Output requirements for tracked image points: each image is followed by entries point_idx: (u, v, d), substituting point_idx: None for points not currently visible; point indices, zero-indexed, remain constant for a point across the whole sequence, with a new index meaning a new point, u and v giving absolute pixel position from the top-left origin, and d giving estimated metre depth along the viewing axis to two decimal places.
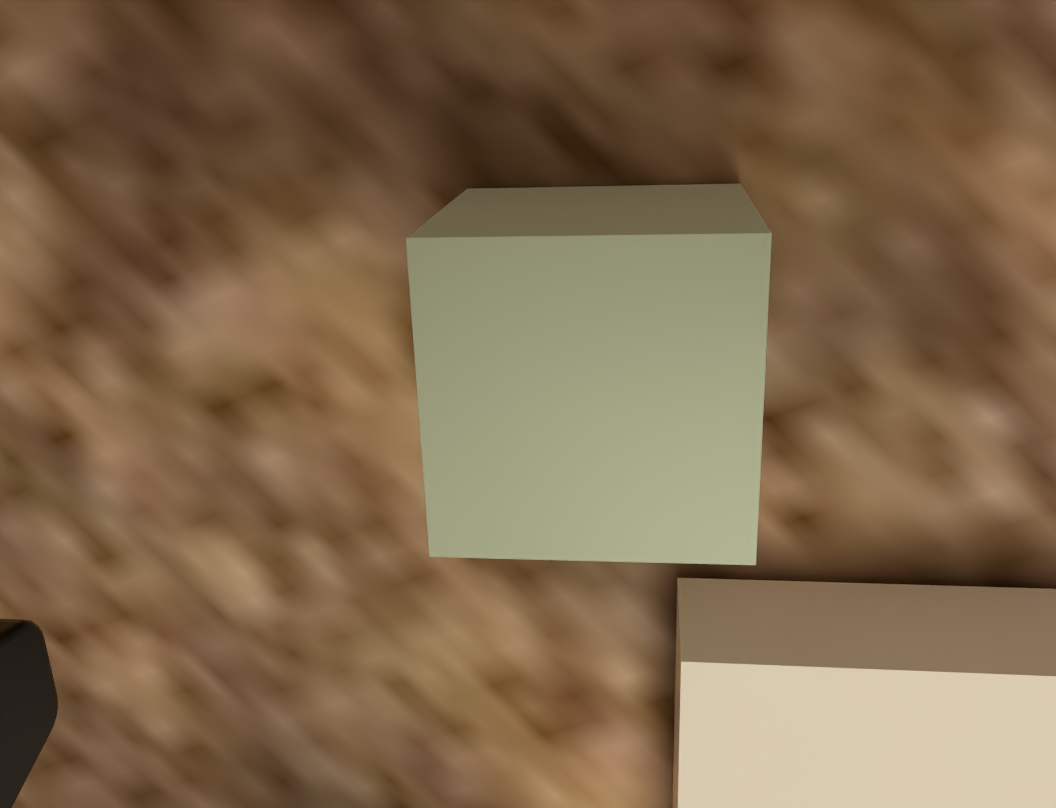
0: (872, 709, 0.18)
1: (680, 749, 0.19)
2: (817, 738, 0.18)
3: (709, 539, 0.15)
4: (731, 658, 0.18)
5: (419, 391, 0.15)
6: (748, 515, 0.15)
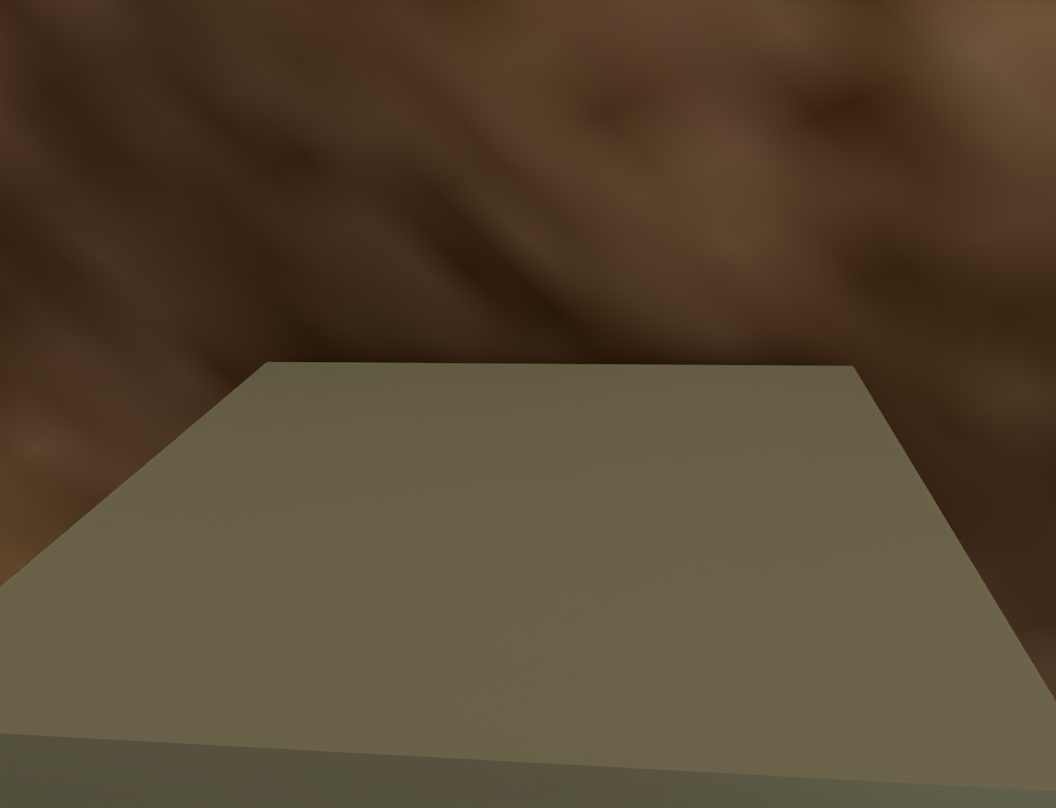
0: None
1: None
2: None
3: None
4: None
5: None
6: None
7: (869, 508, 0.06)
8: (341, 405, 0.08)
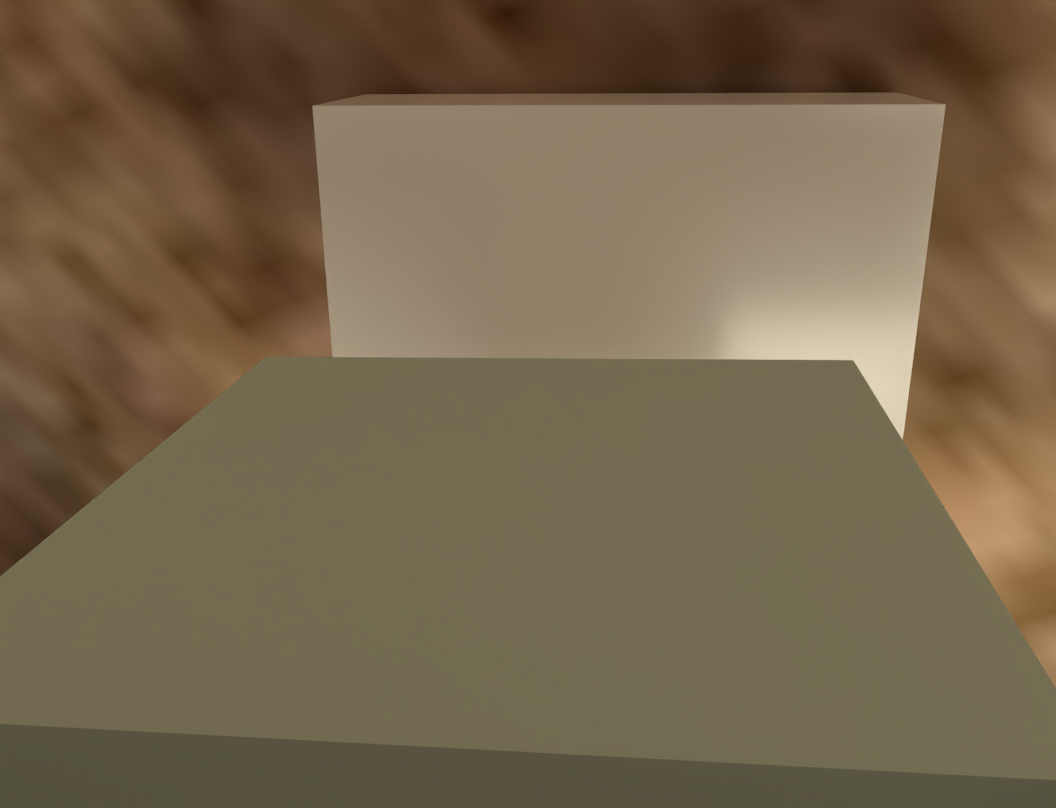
0: (540, 164, 0.15)
1: (323, 233, 0.16)
2: (480, 209, 0.15)
3: None
4: (374, 104, 0.15)
5: None
6: None
7: (869, 500, 0.06)
8: (339, 399, 0.08)
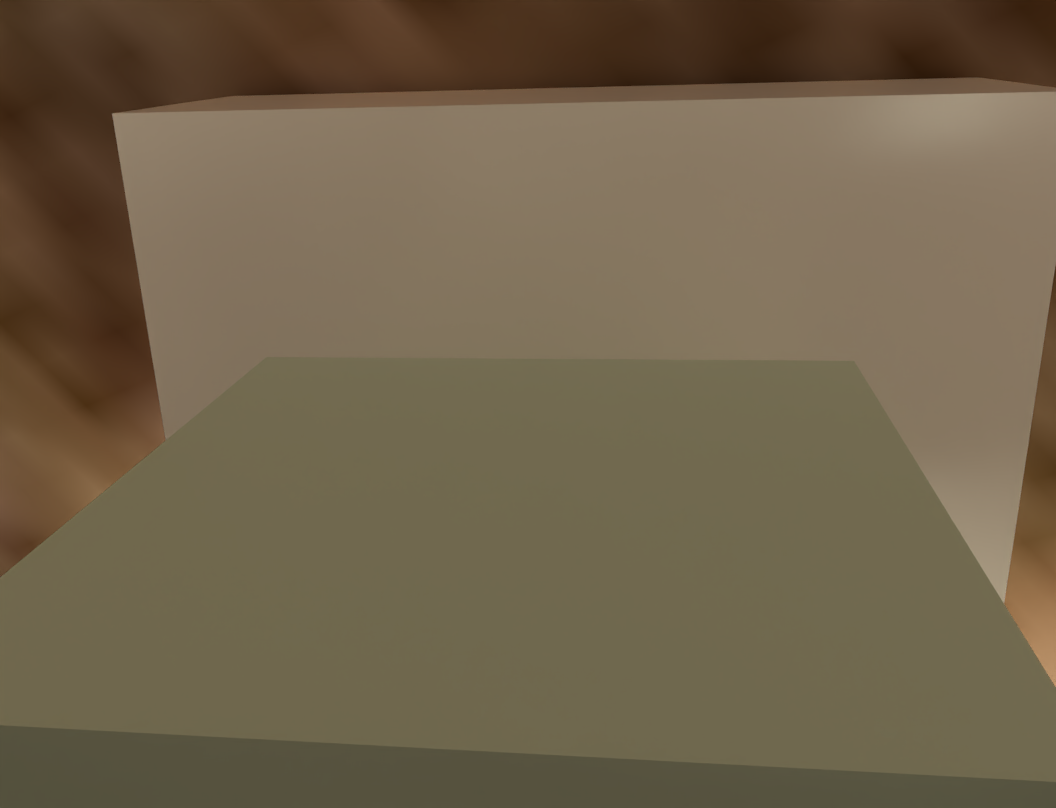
0: (455, 195, 0.10)
1: (144, 301, 0.11)
2: (369, 263, 0.10)
3: None
4: (206, 110, 0.10)
5: None
6: None
7: (870, 501, 0.06)
8: (340, 400, 0.08)
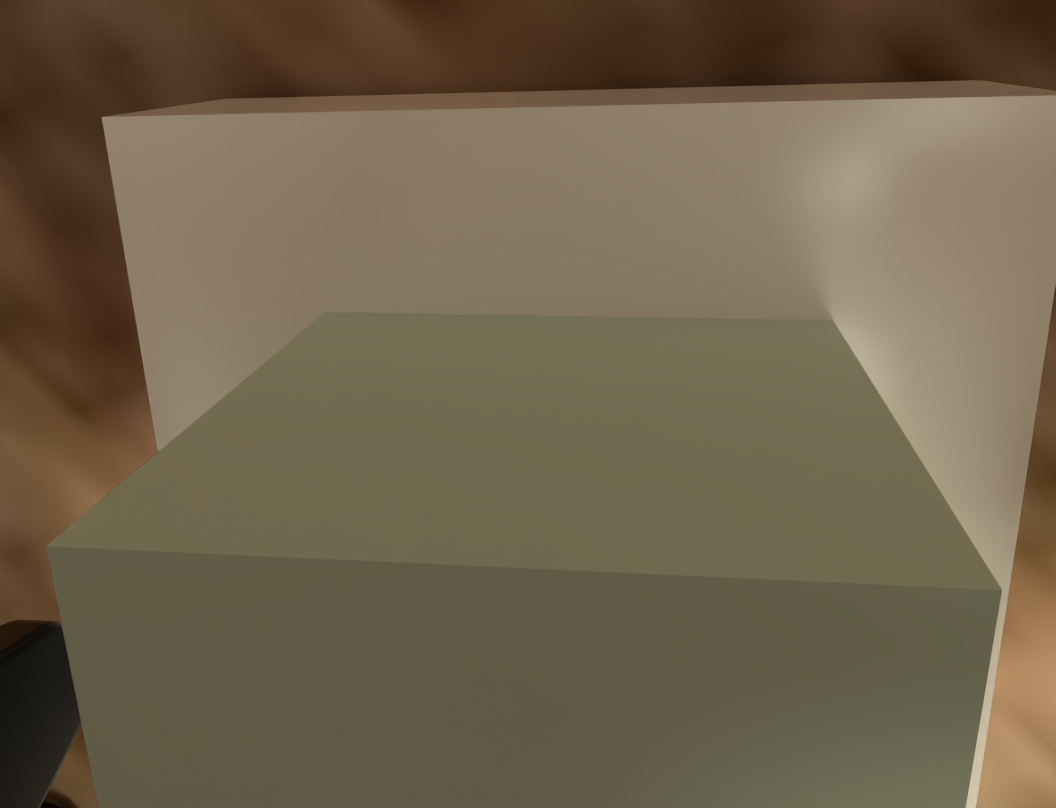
0: (449, 200, 0.10)
1: (135, 307, 0.10)
2: (363, 268, 0.10)
3: None
4: (196, 113, 0.10)
5: None
6: None
7: (839, 420, 0.07)
8: (395, 344, 0.09)
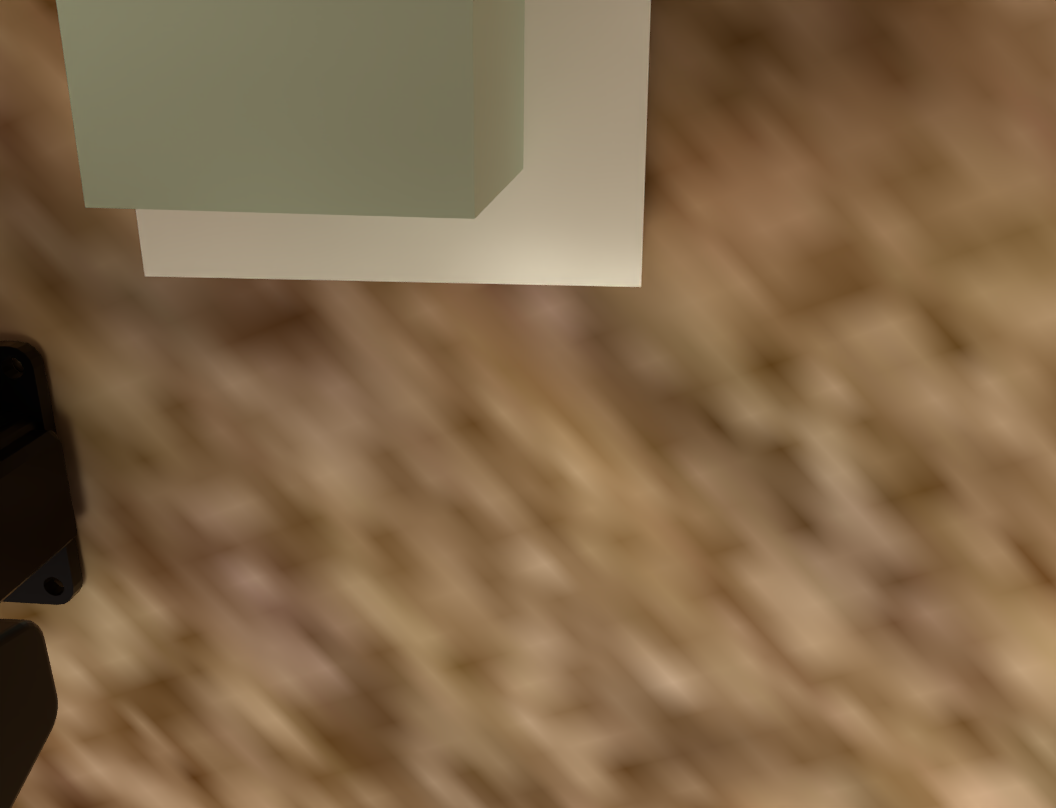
0: None
1: None
2: None
3: (417, 182, 0.12)
4: None
5: None
6: (462, 149, 0.12)
7: None
8: None
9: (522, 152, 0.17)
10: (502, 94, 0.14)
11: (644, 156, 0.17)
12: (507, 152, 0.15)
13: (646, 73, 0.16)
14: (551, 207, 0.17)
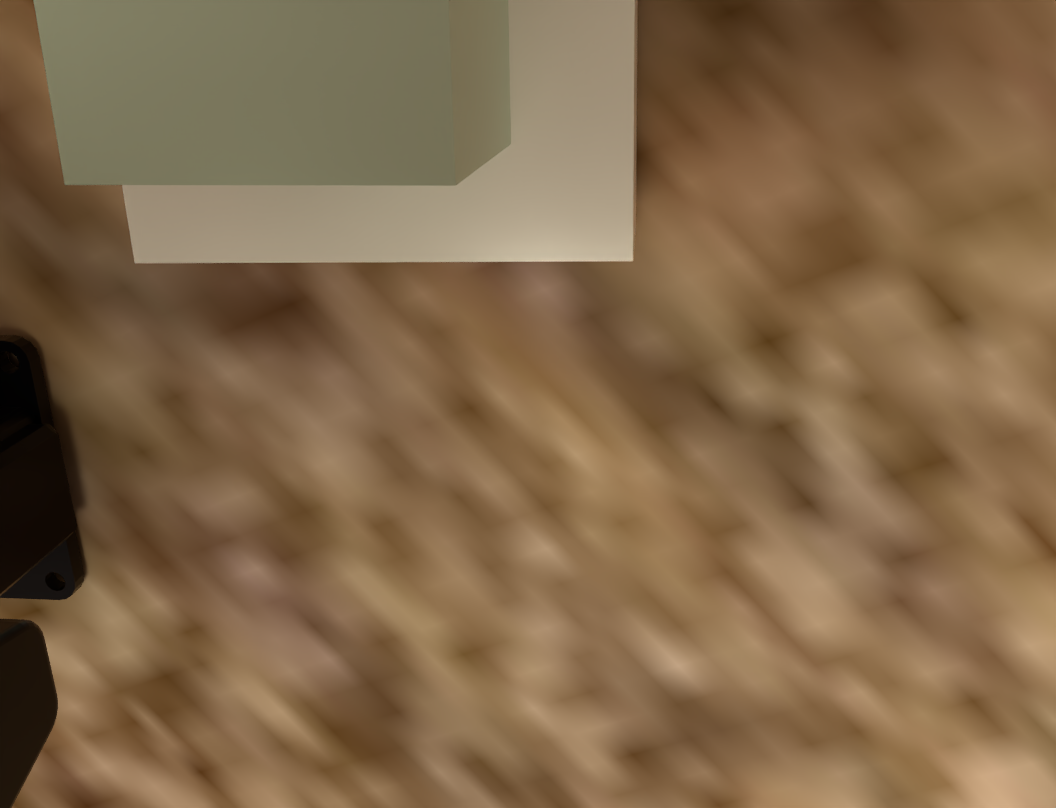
0: None
1: None
2: None
3: (396, 149, 0.12)
4: None
5: None
6: (441, 114, 0.12)
7: None
8: None
9: (509, 127, 0.17)
10: (484, 64, 0.14)
11: (632, 128, 0.16)
12: (492, 124, 0.15)
13: (632, 43, 0.16)
14: (540, 182, 0.17)
